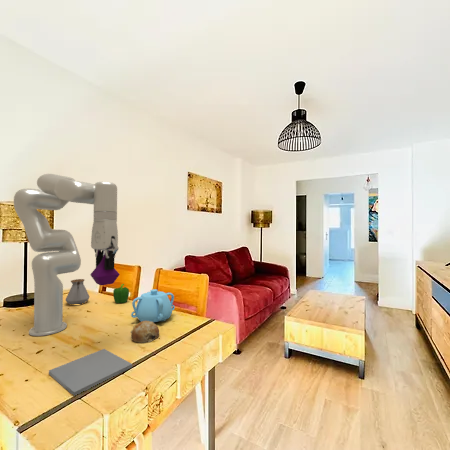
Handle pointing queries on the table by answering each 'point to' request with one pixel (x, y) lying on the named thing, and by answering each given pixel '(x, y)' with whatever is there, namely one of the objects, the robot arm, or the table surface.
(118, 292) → the bell pepper
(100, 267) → the perfume bottle
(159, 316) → the decorative pot
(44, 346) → the table surface
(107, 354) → the slate tile
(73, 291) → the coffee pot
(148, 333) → the bread roll
